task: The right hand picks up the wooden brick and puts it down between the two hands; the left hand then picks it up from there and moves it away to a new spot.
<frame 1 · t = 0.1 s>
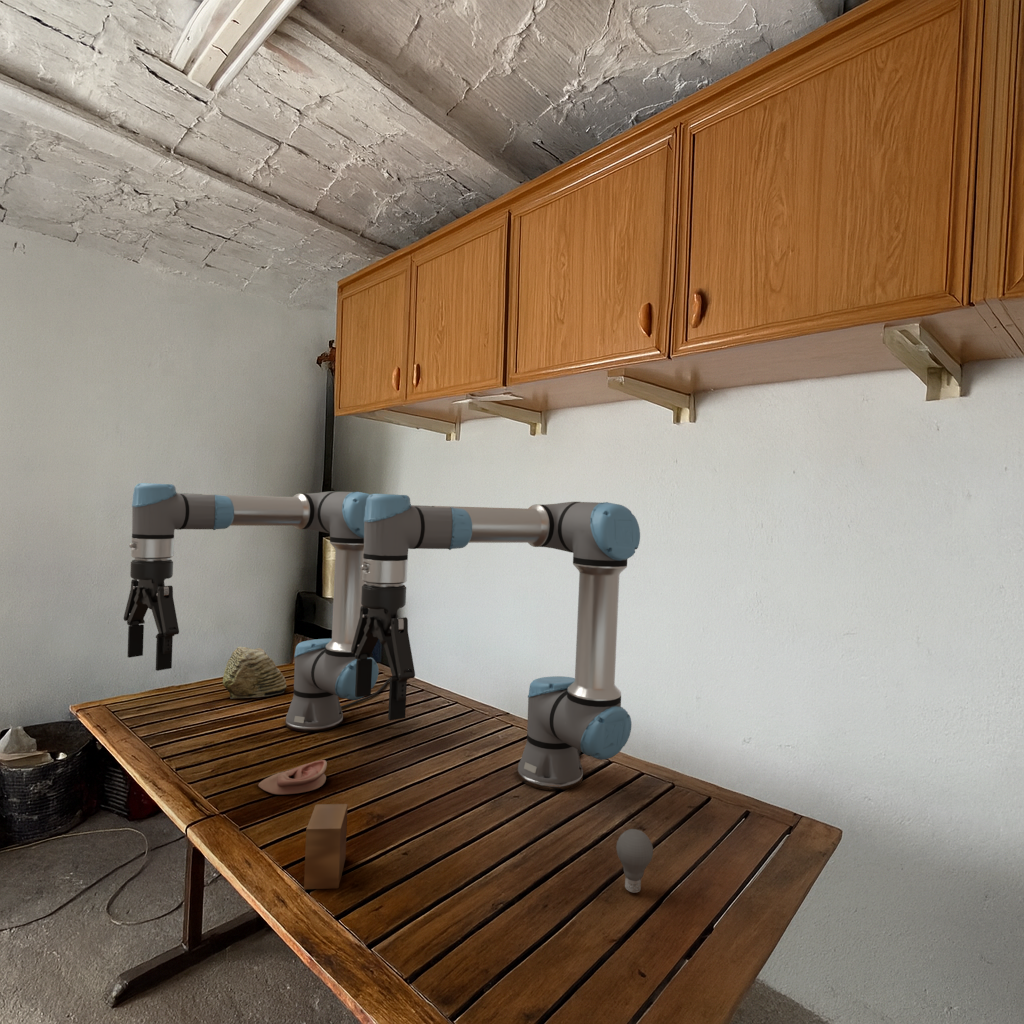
left hand: (148, 662, 129), 28 cm above the table, tool pointing down, fingers open, 13 cm apart
right hand: (378, 706, 109), 28 cm above the table, tool pointing down, fingers open, 13 cm apart
fossil: (254, 694, 198), on the table
brick: (325, 873, 107), on the table
light bulb: (632, 891, 106), on the table
anatomical model: (292, 784, 139), on the table
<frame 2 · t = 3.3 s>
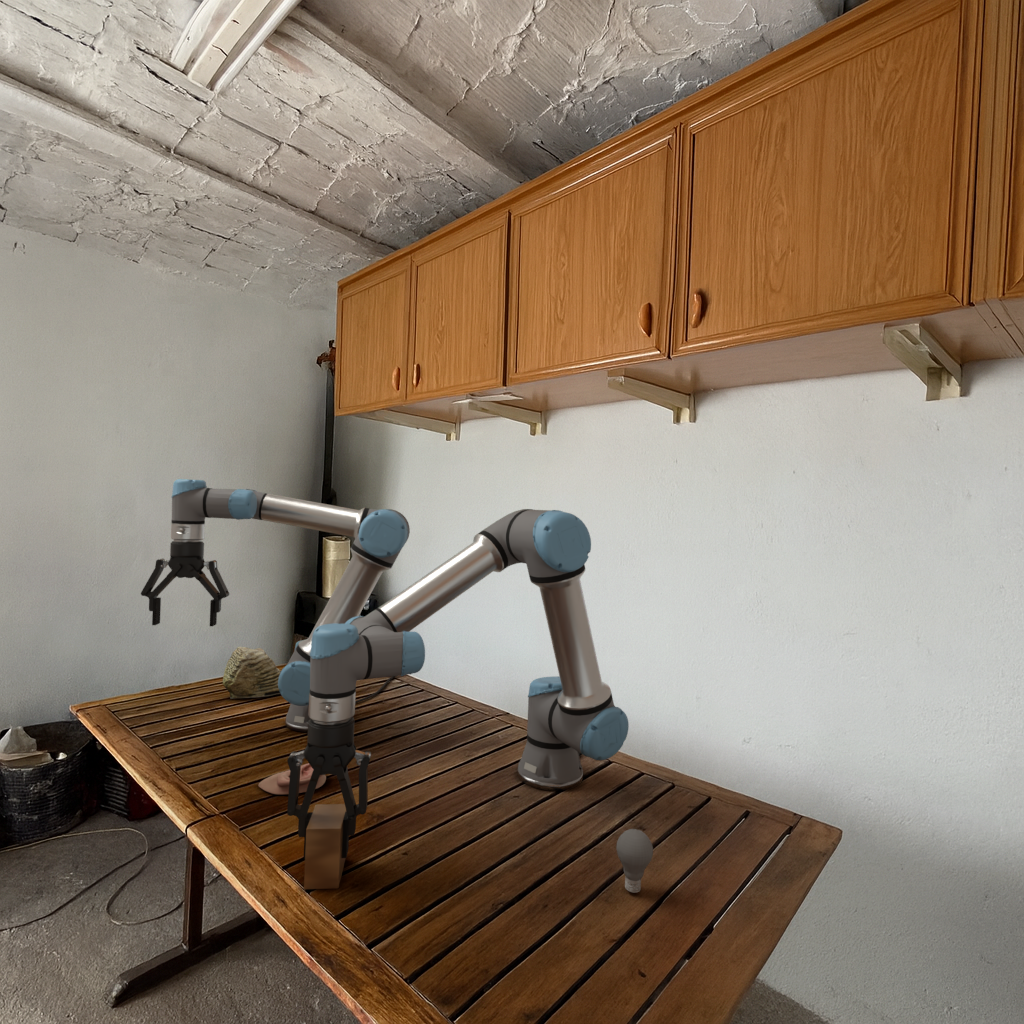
left hand: (184, 624, 159), 29 cm above the table, tool pointing down, fingers open, 13 cm apart
right hand: (326, 853, 107), 3 cm above the table, tool pointing down, fingers closed on brick, 5 cm apart
brick: (325, 873, 107), on the table, touching right hand
everything else where it was.
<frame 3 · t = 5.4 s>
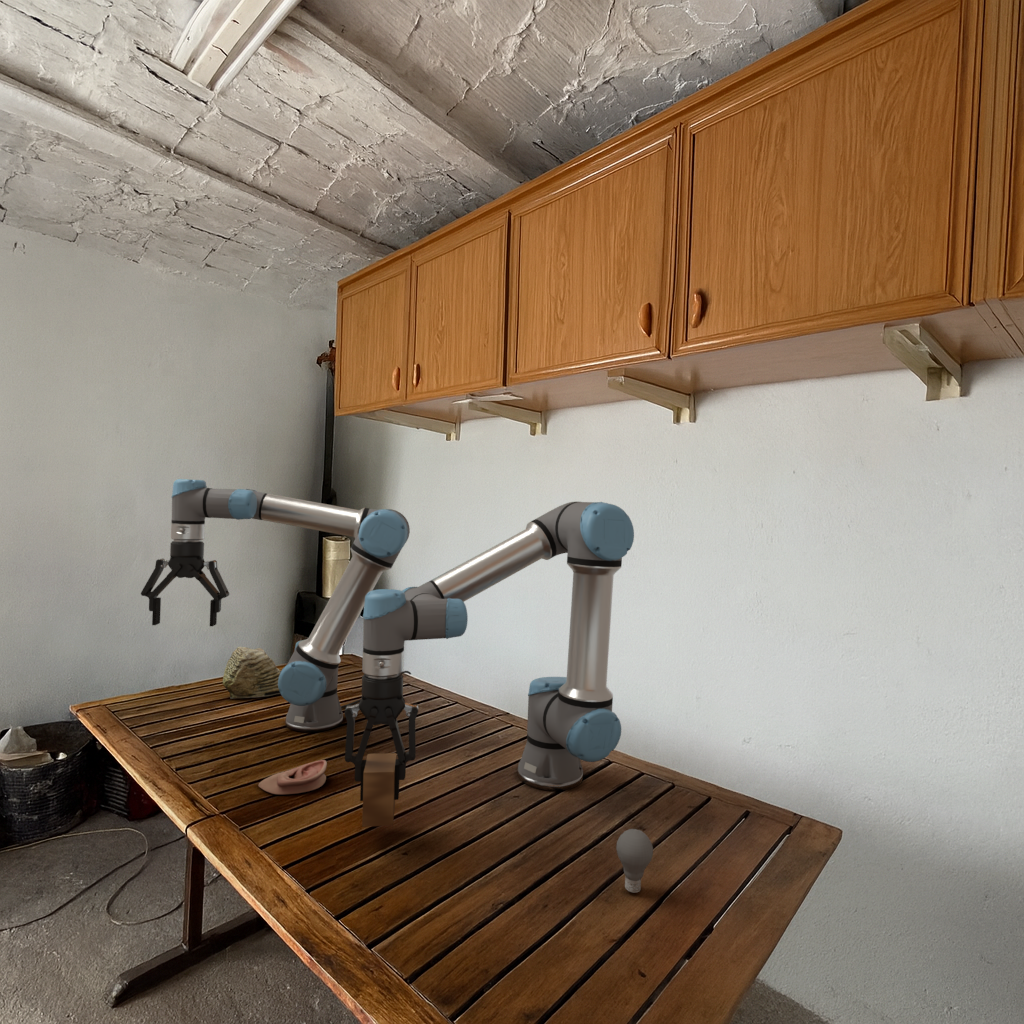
left hand: (184, 624, 159), 29 cm above the table, tool pointing down, fingers open, 13 cm apart
right hand: (379, 796, 118), 8 cm above the table, tool pointing down, fingers closed on brick, 5 cm apart
brick: (379, 814, 118), point 5 cm above the table, touching right hand
everything else where it was.
when the right hand's fingers open (5 cm above the table, at t = 7.5 s): brick drops 1 cm, on the table.
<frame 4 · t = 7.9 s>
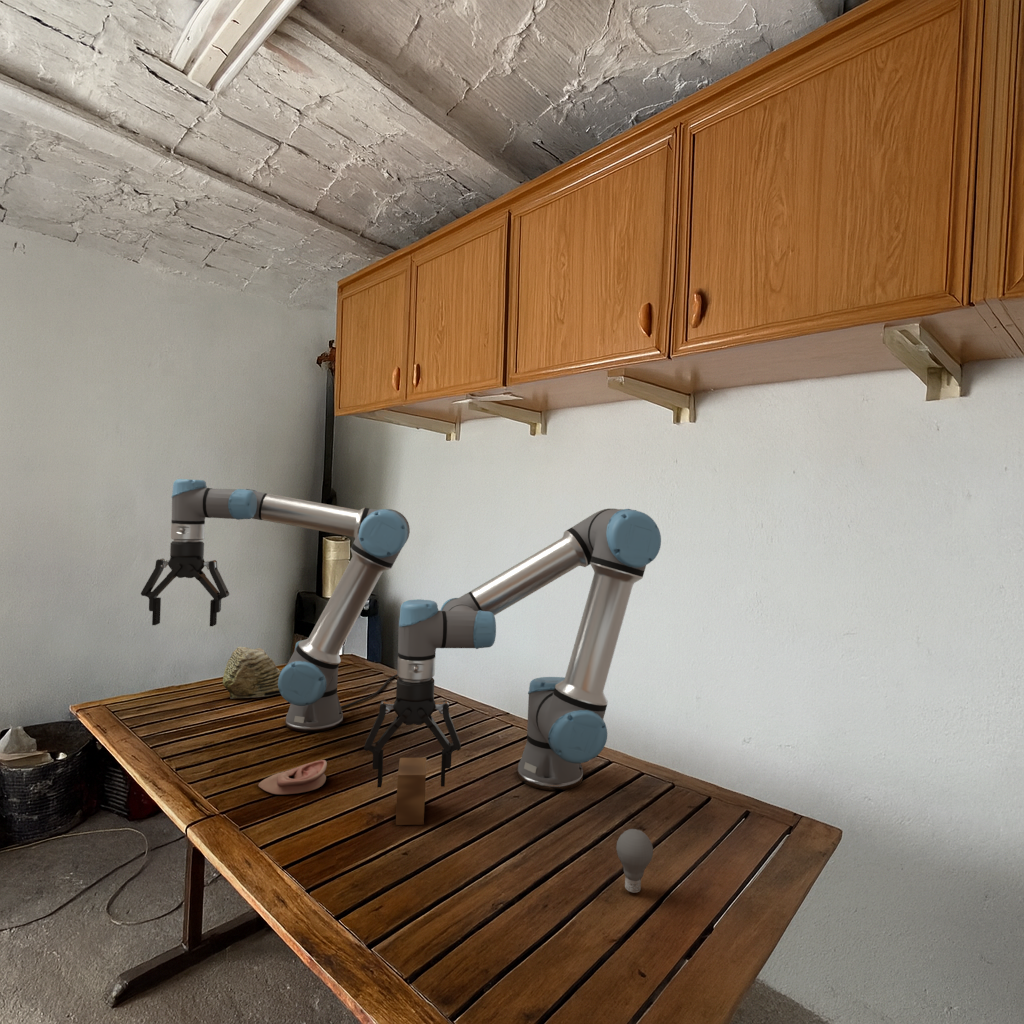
left hand: (184, 624, 159), 29 cm above the table, tool pointing down, fingers open, 13 cm apart
right hand: (411, 784, 128), 6 cm above the table, tool pointing down, fingers open, 12 cm apart
brick: (410, 814, 128), on the table
everything else where it was.
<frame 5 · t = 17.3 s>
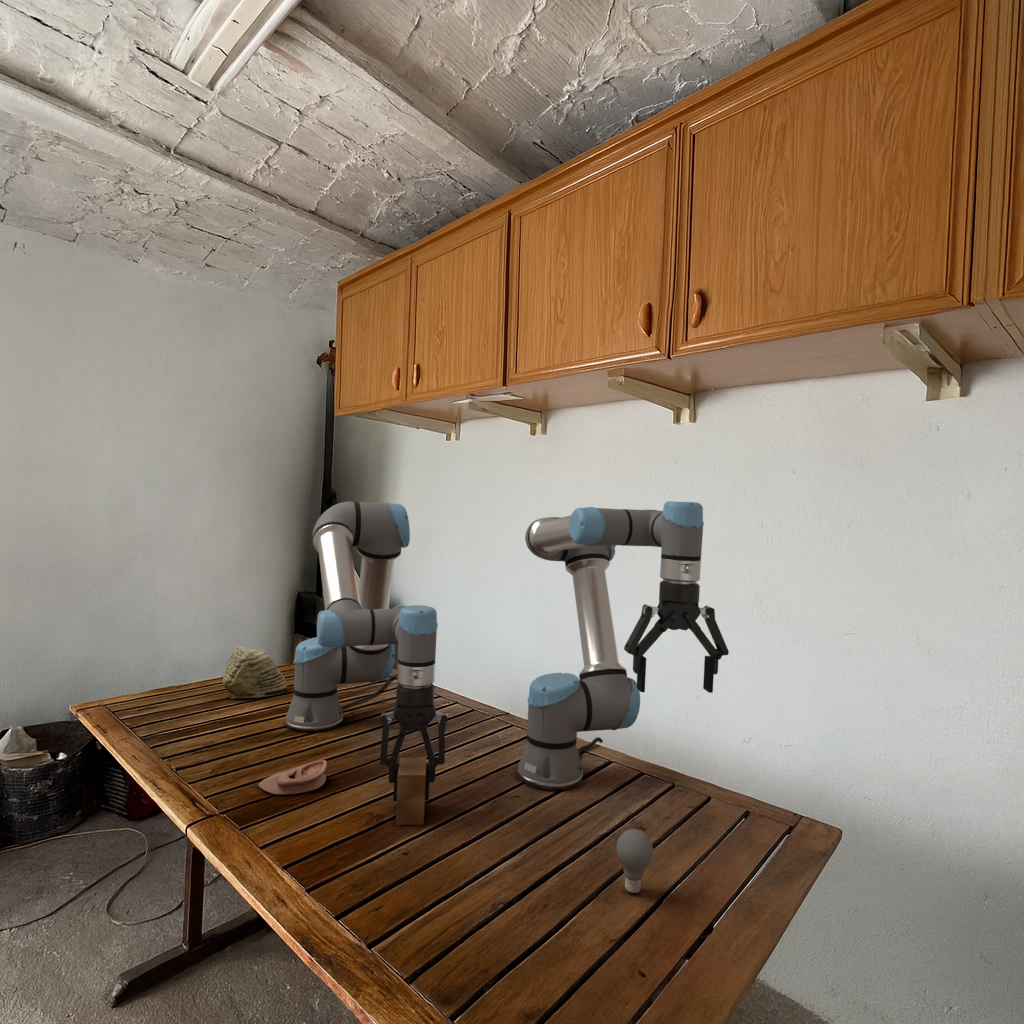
left hand: (411, 797, 128), 3 cm above the table, tool pointing down, fingers closed on brick, 5 cm apart
right hand: (674, 690, 123), 29 cm above the table, tool pointing down, fingers open, 13 cm apart
brick: (410, 814, 128), on the table, touching left hand
everything else where it was.
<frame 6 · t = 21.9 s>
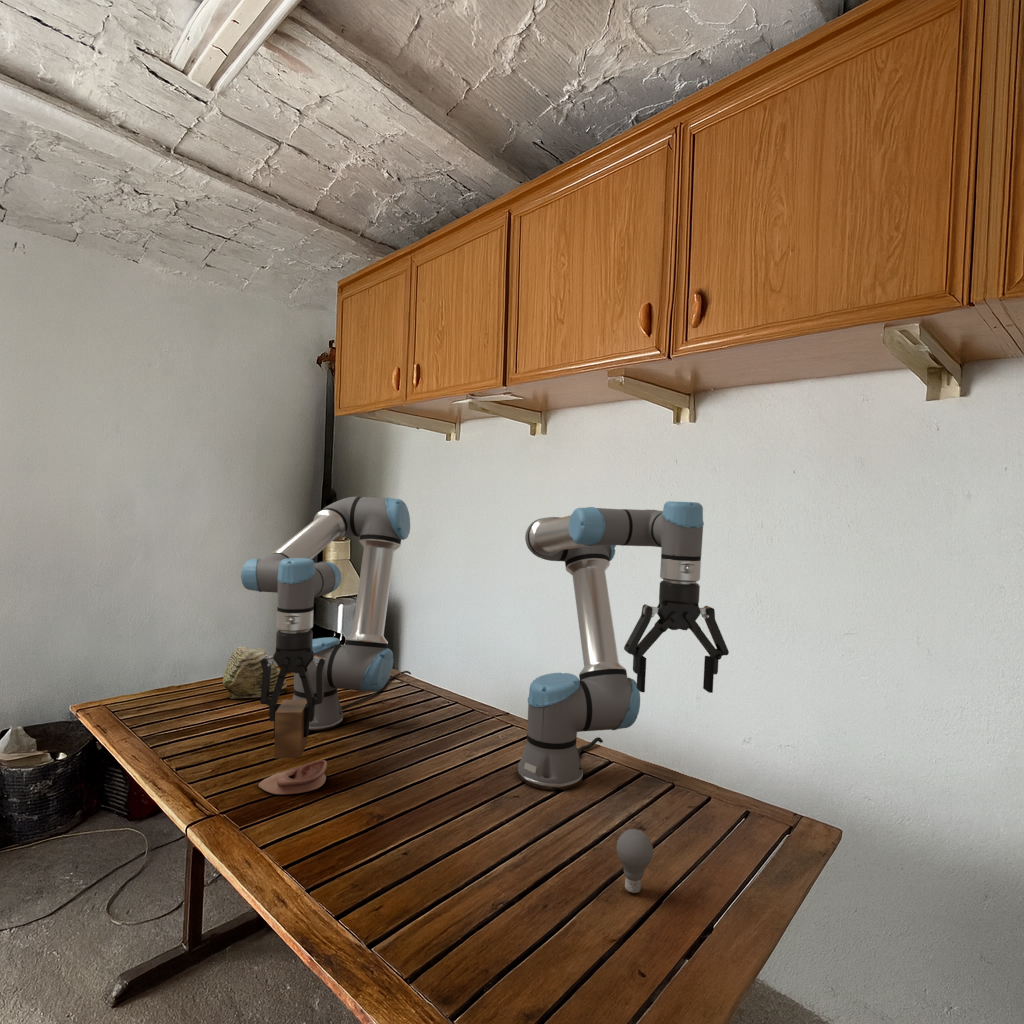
left hand: (291, 734, 138), 11 cm above the table, tool pointing down, fingers closed on brick, 5 cm apart
right hand: (674, 690, 123), 29 cm above the table, tool pointing down, fingers open, 13 cm apart
brick: (291, 750, 139), point 8 cm above the table, touching left hand
everything else where it was.
when the left hand's fingers open (5 cm above the table, at t = 26.3 s): brick drops 1 cm, on the table.
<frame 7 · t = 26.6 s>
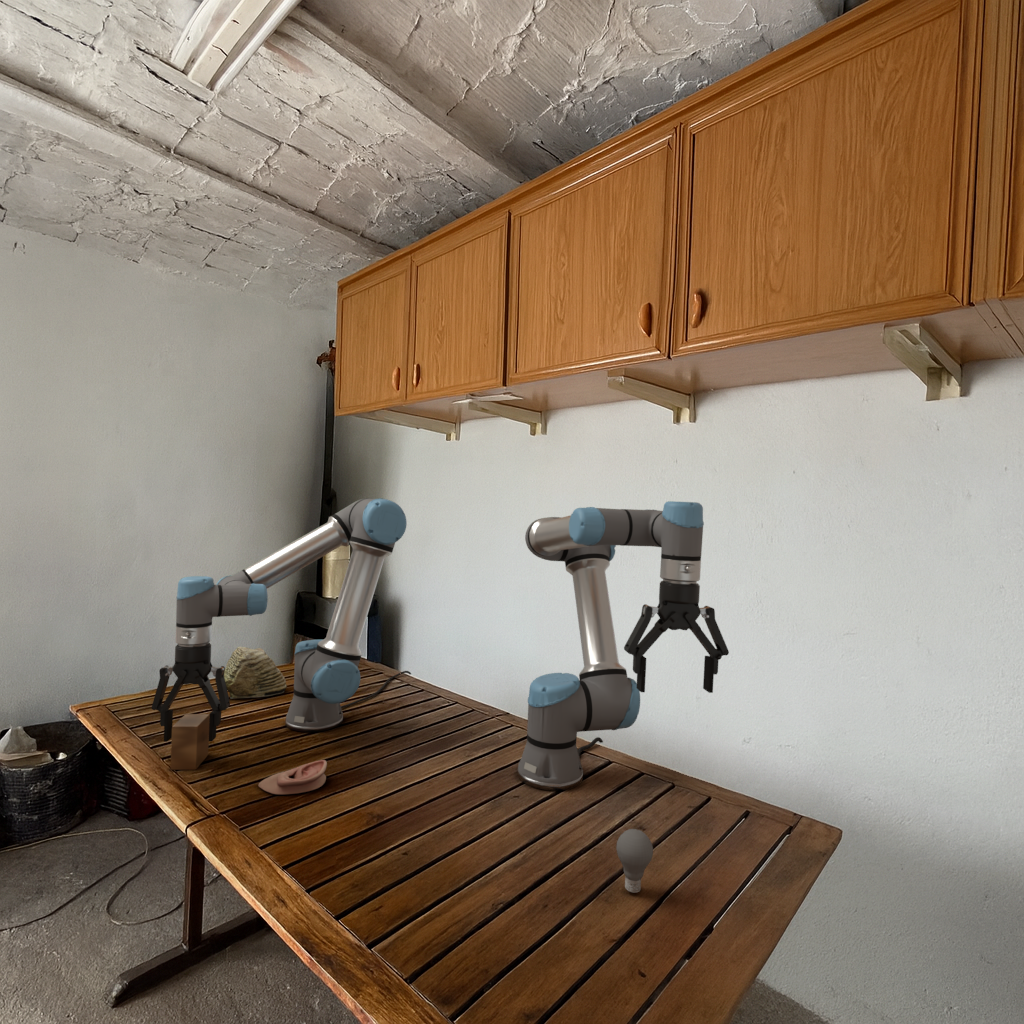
left hand: (190, 739, 148), 5 cm above the table, tool pointing down, fingers open, 9 cm apart
right hand: (674, 690, 123), 29 cm above the table, tool pointing down, fingers open, 13 cm apart
brick: (189, 762, 148), on the table
everything else where it was.
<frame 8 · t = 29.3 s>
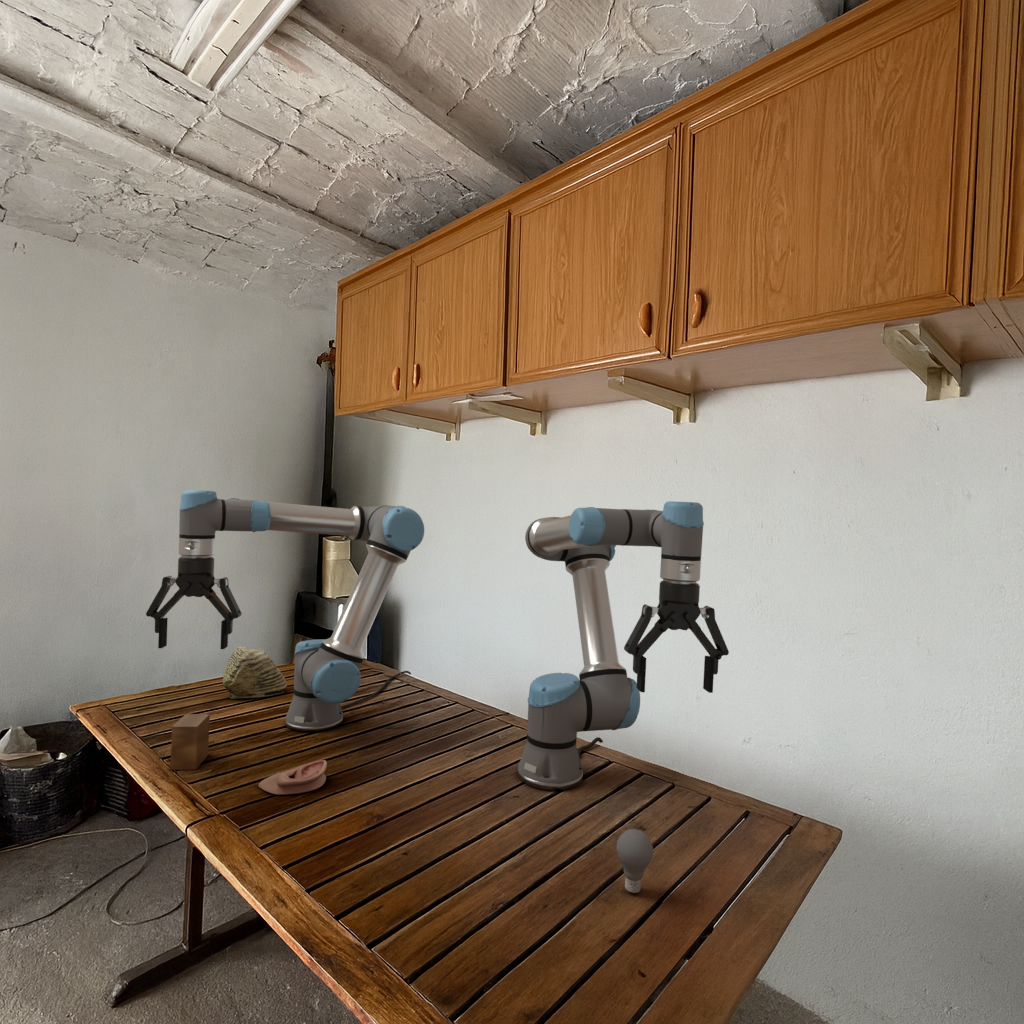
left hand: (193, 647, 147), 27 cm above the table, tool pointing down, fingers open, 13 cm apart
right hand: (674, 690, 123), 29 cm above the table, tool pointing down, fingers open, 13 cm apart
nothing on the table moved.
at the end: brick inside the target area (0.1 cm from its centre), on the table; brick tilted 0°; the two hands never held the brick at the same time; the left hand is holding nothing; the right hand is holding nothing; brick at rest at the end (0.0 cm/s) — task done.
